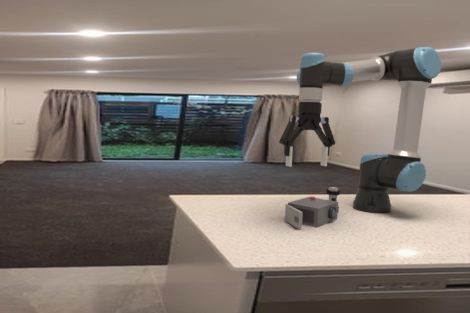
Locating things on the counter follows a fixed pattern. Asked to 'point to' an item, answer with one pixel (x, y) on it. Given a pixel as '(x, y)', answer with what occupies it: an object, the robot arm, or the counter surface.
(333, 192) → the push button
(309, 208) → the housing
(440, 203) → the counter surface
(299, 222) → the door
